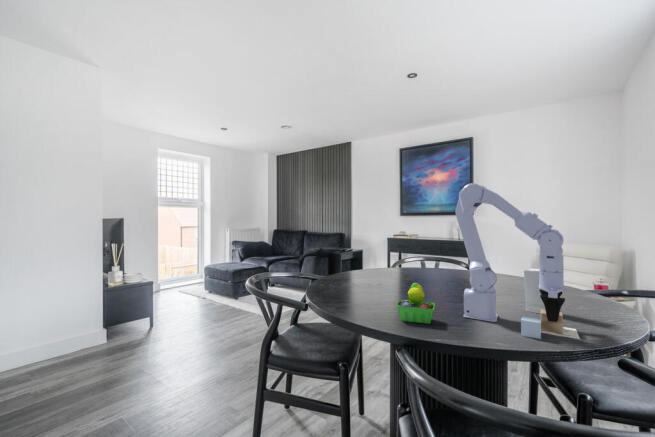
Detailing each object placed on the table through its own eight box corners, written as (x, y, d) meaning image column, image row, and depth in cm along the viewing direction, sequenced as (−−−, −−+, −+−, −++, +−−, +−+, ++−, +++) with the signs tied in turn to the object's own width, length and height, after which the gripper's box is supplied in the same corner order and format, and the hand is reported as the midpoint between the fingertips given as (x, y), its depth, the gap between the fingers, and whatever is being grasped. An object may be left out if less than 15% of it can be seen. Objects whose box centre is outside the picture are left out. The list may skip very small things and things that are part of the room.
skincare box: (559, 314, 104) (558, 270, 104) (551, 317, 101) (551, 272, 101) (531, 308, 111) (531, 267, 111) (523, 310, 108) (523, 268, 108)
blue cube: (521, 336, 85) (521, 320, 85) (521, 331, 88) (521, 315, 88) (540, 339, 82) (540, 323, 82) (540, 334, 86) (540, 318, 86)
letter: (526, 330, 89) (526, 330, 89) (526, 321, 96) (526, 321, 96) (580, 339, 82) (580, 338, 82) (575, 329, 90) (575, 328, 90)
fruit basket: (396, 321, 97) (396, 285, 97) (400, 313, 105) (400, 280, 105) (434, 326, 93) (433, 288, 93) (435, 317, 101) (435, 283, 101)
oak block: (541, 330, 88) (541, 313, 89) (540, 325, 93) (540, 308, 93) (562, 333, 86) (562, 316, 86) (561, 328, 90) (561, 311, 90)
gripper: (571, 276, 81) (572, 327, 81) (566, 268, 93) (566, 313, 93) (539, 273, 85) (539, 322, 85) (537, 266, 97) (538, 309, 97)
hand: (551, 317), depth 89 cm, fingers open, 7 cm apart
